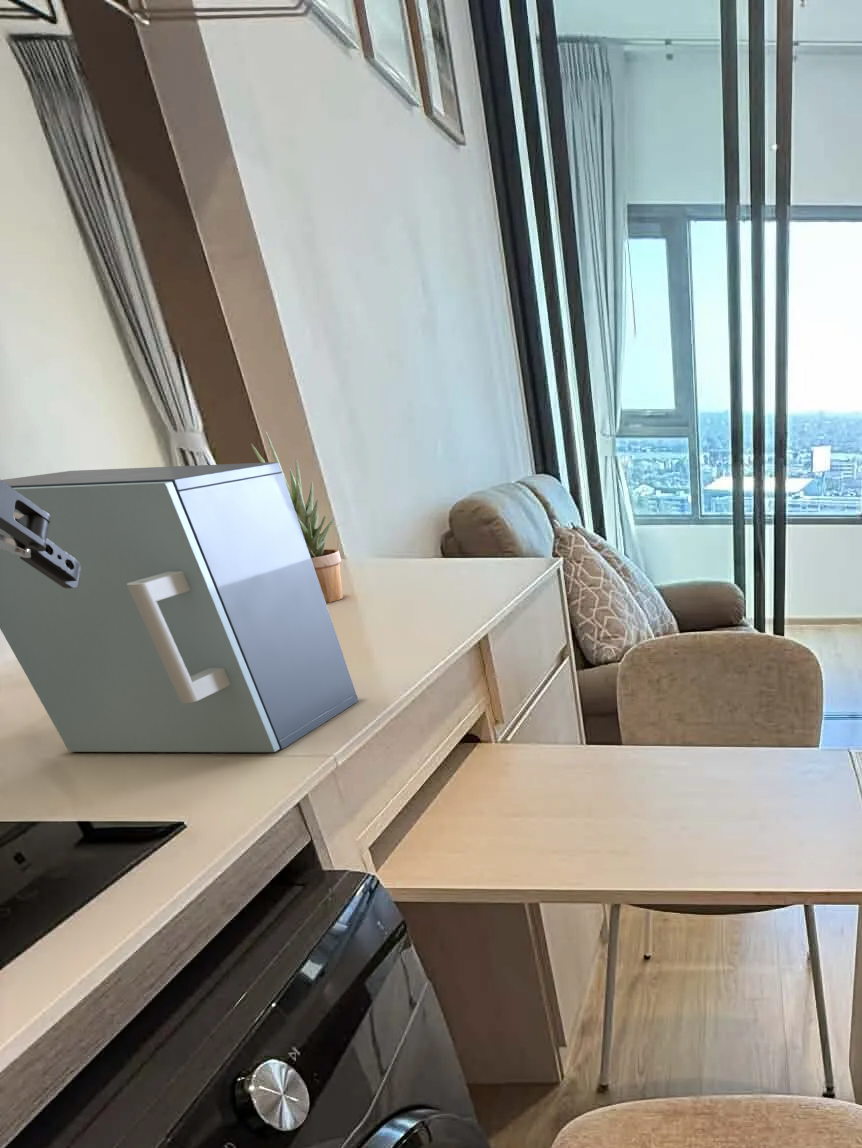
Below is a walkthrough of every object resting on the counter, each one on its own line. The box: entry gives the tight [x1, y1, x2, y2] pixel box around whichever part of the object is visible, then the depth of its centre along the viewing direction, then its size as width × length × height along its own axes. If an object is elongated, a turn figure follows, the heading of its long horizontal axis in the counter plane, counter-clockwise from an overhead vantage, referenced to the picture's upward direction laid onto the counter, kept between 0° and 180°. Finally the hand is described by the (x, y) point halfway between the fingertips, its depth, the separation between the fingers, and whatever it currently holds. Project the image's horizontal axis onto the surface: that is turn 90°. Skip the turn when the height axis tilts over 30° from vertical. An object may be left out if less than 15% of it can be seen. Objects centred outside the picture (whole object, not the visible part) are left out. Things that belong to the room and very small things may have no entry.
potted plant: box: [251, 431, 344, 604], centre depth 142 cm, size 10×10×25 cm
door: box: [0, 482, 281, 753], centre depth 79 cm, size 7×24×24 cm, turn 83°
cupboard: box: [1, 461, 359, 750], centre depth 88 cm, size 16×24×24 cm
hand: (25, 578), depth 63 cm, fingers open, 8 cm apart
